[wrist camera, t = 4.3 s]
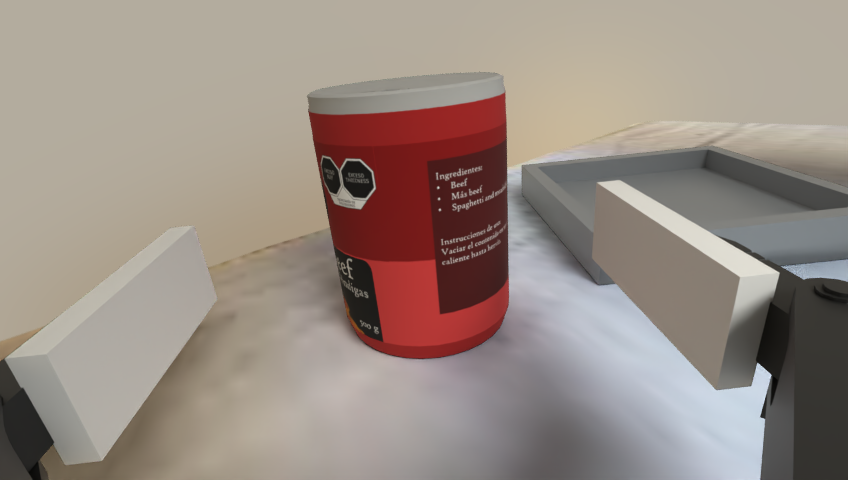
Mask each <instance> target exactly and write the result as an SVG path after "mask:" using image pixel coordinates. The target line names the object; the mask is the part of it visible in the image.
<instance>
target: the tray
mask: <svg viewBox="0 0 848 480" xmlns="http://www.w3.org/2000/svg"><path fill="white" fill-rule="evenodd" d="M615 180H621V181H622V182H624V183H626V184H627V185H629V186H631V187H633V188H634V189H636V190H638V191H639V192H641V193H643V194H645V195H646V196H648V197H650V198H652V199H653V200H655V201H657V202H658V203H660V204H662V205H664V206H665V207H667V208H669V209H671V210H672V211H674V212H676V213H677V214H679V215H681V216H683V217H684V218H686V219H688V220H689V221H691V222H693V223H695V224H696V225H698V226H700V227H702V228H703V229H705V230H707V231H708V232H710V233H712V234H714V235H717V236H720V237H723V238H726V239H729V240H732V241H736V242H738V243H739V244H741V245H743V246H745V247H746V248H748V249H750V250H752V253H753V252H755V253H757V254H759V255H761V256H762V257H764V258H765V260H770V261H771V262H773V263H775V264H777V265H778V266H784V265H794V264H803V263H813V262H822V261H832V260H841V259H848V187H846V186H842V185H839V184H836V183H832V182H829V181H826V180H823V179H819V178H816V177H813V176H810V175H806V174H803V173H800V172H797V171H793V170H790V169H787V168H784V167H780V166H777V165H774V164H771V163H767V162H764V161H761V160H758V159H754V158H751V157H748V156H745V155H741V154H738V153H735V152H732V151H728V150H725V149H722V148H719V147H715V146H704V147H695V148H685V149H675V150H665V151H656V152H646V153H636V154H627V155H617V156H607V157H597V158H588V159H578V160H568V161H558V162H549V163H539V164H529V165H522V195H523V196H524V197H525V198H526V200H527V201H528V202H529V203H530V204H531V206H532V207H533V208H534V209H535V210H536V211H537V213H538V214H539V215H540V216H541V217H542V219H543V220H544V221H545V222H546V223H547V224H548V226H549V227H550V228H551V229H552V230H553V232H554V233H555V234H556V235H557V236H558V237H559V239H560V240H561V241H562V242H563V243H564V245H565V246H566V247H567V248H568V249H569V251H570V252H571V253H572V254H573V255H574V256H575V258H576V259H577V260H578V261H579V262H580V264H581V265H582V266H583V267H584V268H585V269H586V271H587V272H588V273H589V274H590V275H591V277H592V278H593V279H594V280H595V281H596V283H597V284H598V285H604V284H614V283H615V282H614V281H613V280H612V279H611V278H610V277H609V276H608V275H607V274H606V273H605V272H604V271H603V269H602V268H601V267H600V266H599V265H598V264H597V263H596V262H595V261H594V260H593V259H592V248H593V232H594V216H595V200H596V184H597V182H606V181H615Z"/></svg>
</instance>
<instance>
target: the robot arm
mask: <svg viewBox="0 0 848 480" xmlns="http://www.w3.org/2000/svg"><path fill="white" fill-rule="evenodd" d="M592 259H593V260H594V261H595V262H596V263H597V264H598V265H599V266H600V267H601V268H602V269H603V271H604V272H605V273H606V274H607V275H608V276H609V277H610V278H611V279H612V280H613V281H614V282H615V283H616V284H617V285H618V286H619V288H620V289H621V290H622V291H623V292H624V293H625V294H626V295H627V296H628V297H629V298H630V299H631V300H632V301H633V302H634V303H635V304H636V306H637V307H638V308H639V309H640V310H641V311H642V312H643V313H644V314H645V315H646V316H647V317H648V318H649V319H650V320H651V321H652V322H653V324H654V325H655V326H656V327H657V328H658V329H659V330H660V331H661V332H662V333H663V334H664V335H665V336H666V337H667V338H668V339H669V341H670V342H671V343H672V344H673V345H674V346H675V347H676V348H677V349H678V350H679V351H680V352H681V353H682V354H683V355H684V356H685V357H686V359H687V360H688V361H689V362H690V363H691V364H692V365H693V366H694V367H695V368H696V369H697V370H698V371H699V372H700V373H701V374H702V376H703V377H704V378H705V379H706V380H707V381H708V382H709V383H710V384H711V385H712V386H713V387H714V388H715V389H716V390H722V389H731V388H740V387H748V386H751V385H752V381H753V377H754V373H755V369H756V365H757V362H758V363H759V364H760V365H761V366H762V367H764V368H765V369H766V370H767V371H768V372H769V373H770V374H772V376H771V379H770V383H769V387H768V390H767V394H766V398H765V402H764V405H763V409H762V413H761V416H760V417H761V418H764V419H765V429H764V441H763V454H762V466H761V478H760V480H848V282H846V281H842V280H837V279H827V278H809V279H805V280H803V279H802V278H800V277H798V276H796V275H794V274H793V273H791V272H789V271H787V270H786V269H784V268H782V267H780V266H778V265H777V264H775V263H773V262H771V261H770V260H765V258H764V257H762V256H761V255H759V254H757V253H755V252H753V253H752V250H750V249H748V248H746V247H745V246H743V245H741V244H739V243H738V242H736V241H732V240H729V239H726V238H723V237H720V236H717V235H714V234H712V233H710V232H708V231H707V230H705V229H703V228H702V227H700V226H698V225H696V224H695V223H693V222H691V221H689V220H688V219H686V218H684V217H683V216H681V215H679V214H677V213H676V212H674V211H672V210H671V209H669V208H667V207H665V206H664V205H662V204H660V203H658V202H657V201H655V200H653V199H652V198H650V197H648V196H646V195H645V194H643V193H641V192H639V191H638V190H636V189H634V188H633V187H631V186H629V185H627V184H626V183H624V182H622V181H621V180H615V181H606V182H597V184H596V200H595V216H594V232H593V248H592ZM216 301H217V296H216V293H215V289H214V286H213V283H212V280H211V277H210V274H209V270H208V267H207V264H206V261H205V258H204V255H203V252H202V249H201V245H200V242H199V239H198V236H197V233H196V230H195V227H194V225H192V226H183V227H173V228H170V229H168V230H167V231H166V232H164V233H163V234H162V235H161V236H159V237H158V238H157V239H156V240H154V241H153V242H152V243H151V244H149V245H148V246H147V247H145V248H144V249H143V250H142V251H140V252H139V253H138V254H137V255H135V256H134V257H133V258H131V259H130V260H129V261H128V262H127V263H125V264H124V265H123V266H121V267H120V268H119V269H118V270H116V271H115V272H114V273H112V274H111V275H110V276H109V277H107V278H106V279H105V280H104V281H102V282H101V283H100V284H98V285H97V286H96V287H95V288H94V289H92V290H91V291H90V292H88V293H87V294H86V295H85V296H83V297H82V298H81V299H80V300H78V301H77V302H76V303H75V304H73V305H72V306H71V307H69V308H68V309H67V310H66V311H65V312H63V313H62V314H60V315H59V316H58V317H56V318H55V319H54V320H53V321H51V322H50V323H49V324H47V325H46V326H45V327H44V328H42V329H41V330H40V331H39V332H38V333H36V334H35V335H33V336H32V337H31V338H30V339H28V340H27V341H26V342H25V343H23V344H22V345H21V346H20V347H18V348H17V349H16V350H14V351H13V352H12V353H11V354H9V355H8V356H7V357H6V358H4V359H3V360H2V361H0V480H48V474H47V472H46V470H45V468H44V467H43V465H42V463H41V462H40V458H41V457H42V456H43V455H44V454H45V453H46V452H47V450H48V449H49V448H50V447H51V446H52V445H54V447H55V448H56V450H57V452H58V454H59V455H60V457H61V459H62V461H63V462H64V464H65V465H72V464H80V463H89V462H98V461H102V460H103V459H104V457H105V456H106V455H107V453H108V452H109V450H110V449H111V448H112V446H113V445H114V443H115V442H116V441H117V439H118V438H119V436H120V435H121V434H122V432H123V431H124V429H125V428H126V427H127V425H128V424H129V422H130V421H131V420H132V418H133V417H134V415H135V414H136V413H137V411H138V410H139V408H140V407H141V406H142V404H143V403H144V401H145V400H146V399H147V397H148V396H149V394H150V393H151V392H152V390H153V389H154V387H155V386H156V385H157V383H158V382H159V380H160V379H161V378H162V376H163V375H164V373H165V372H166V371H167V369H168V368H169V366H170V365H171V364H172V362H173V361H174V359H175V358H176V357H177V355H178V354H179V352H180V351H181V350H182V348H183V347H184V345H185V344H186V343H187V341H188V340H189V338H190V337H191V336H192V334H193V333H194V331H195V330H196V329H197V327H198V326H199V324H200V323H201V322H202V320H203V319H204V317H205V316H206V315H207V313H208V312H209V310H210V309H211V308H212V306H213V305H214V303H215V302H216Z"/></svg>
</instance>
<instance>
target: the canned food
mask: <svg viewBox="0 0 848 480" xmlns="http://www.w3.org/2000/svg"><path fill="white" fill-rule="evenodd" d="M307 97H308V102H309V109H308V112H309V116H310V122H311V128H312V134H313V141H314V146H315V152H316V157H317V162H318V167H319V172H320V178H321V183H322V187H323V193H324V198H325V203H326V209H327V214H328V219H329V224H330V229H331V235H332V240H333V245H334V250H335V255H336V260H337V266H338V271H339V276H340V281H341V286H342V291H343V297H344V302H345V307H346V312H347V317H348V319H349V320H350V322H351V324H352V326H353V328H354V329H355V331H356V333H357V335H358V336H359V337H360V338H361V339H362V340H363V341H364V342H365V343H366V344H367V345H369V346H371V347H372V348H374V349H376V350H378V351H381V352H384V353H387V354H389V355H395V356H400V357H405V358H420V359H423V358H438V357H444V356H449V355H454V354H457V353H460V352H463V351H466V350H469V349H472V348H474V347H476V346H478V345H480V344H482V343H483V342H485V341H486V340H487V339H489V338H490V337H492V336H493V335H494V334H495V332H496V331H497V330H498V329H499V328H500V326H501V324H502V322H503V319H504V316H505V314H506V311H507V308H508V303H509V276H508V204H507V139H506V138H507V135H506V133H507V131H506V107H505V106H506V105H505V88H504V84H503V76H502V75H500V74H497V73H489V72H488V73H487V72H478V73H476V72H474V73H453V74H438V75H424V76H413V77H402V78H393V79H383V80H375V81H367V82H360V83H352V84H345V85H339V86H333V87H328V88H323V89H319V90H315V91H313V92H311V93H310V94H308V95H307Z"/></svg>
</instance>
